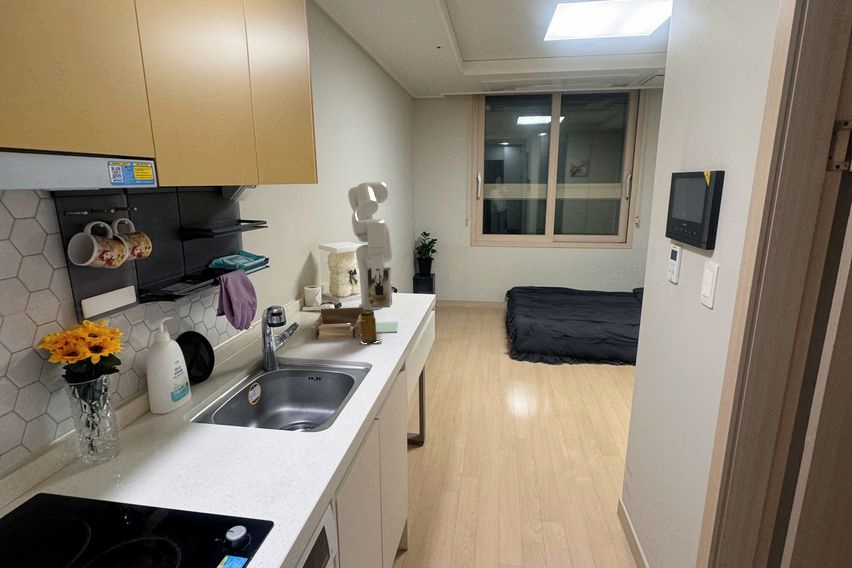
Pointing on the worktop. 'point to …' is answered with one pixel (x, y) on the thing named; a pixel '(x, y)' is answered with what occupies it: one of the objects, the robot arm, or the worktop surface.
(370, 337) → the condiment
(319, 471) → the worktop surface
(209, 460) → the worktop surface
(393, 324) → the mat
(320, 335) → the offcut stack
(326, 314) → the rack
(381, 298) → the coffee box
